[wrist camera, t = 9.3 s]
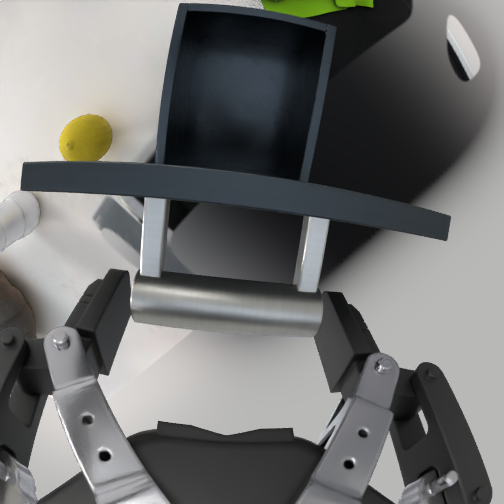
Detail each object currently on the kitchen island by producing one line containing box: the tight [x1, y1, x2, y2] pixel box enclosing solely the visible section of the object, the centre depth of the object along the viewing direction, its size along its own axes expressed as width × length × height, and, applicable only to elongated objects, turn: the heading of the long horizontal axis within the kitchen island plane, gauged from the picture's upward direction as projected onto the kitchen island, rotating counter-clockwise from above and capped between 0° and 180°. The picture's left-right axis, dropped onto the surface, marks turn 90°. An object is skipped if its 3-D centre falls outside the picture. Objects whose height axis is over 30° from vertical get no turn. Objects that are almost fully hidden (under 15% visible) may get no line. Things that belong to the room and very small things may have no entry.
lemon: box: [59, 114, 112, 161], centre depth 24 cm, size 6×6×8 cm
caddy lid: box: [21, 161, 451, 337], centre depth 15 cm, size 16×13×5 cm
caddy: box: [155, 3, 337, 182], centre depth 23 cm, size 16×13×10 cm
